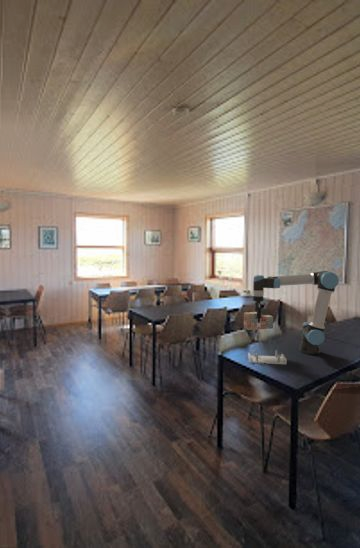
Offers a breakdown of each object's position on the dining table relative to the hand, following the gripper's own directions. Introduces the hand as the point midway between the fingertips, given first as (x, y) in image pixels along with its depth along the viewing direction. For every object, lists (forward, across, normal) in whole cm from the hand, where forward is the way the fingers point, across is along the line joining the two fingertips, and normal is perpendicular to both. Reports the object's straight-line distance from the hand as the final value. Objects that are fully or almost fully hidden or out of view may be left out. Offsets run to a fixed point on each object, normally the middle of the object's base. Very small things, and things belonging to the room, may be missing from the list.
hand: (257, 325), depth 245 cm
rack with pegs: (+22, +15, +5) cm, 27 cm away
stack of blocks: (+2, 0, 0) cm, 2 cm away
